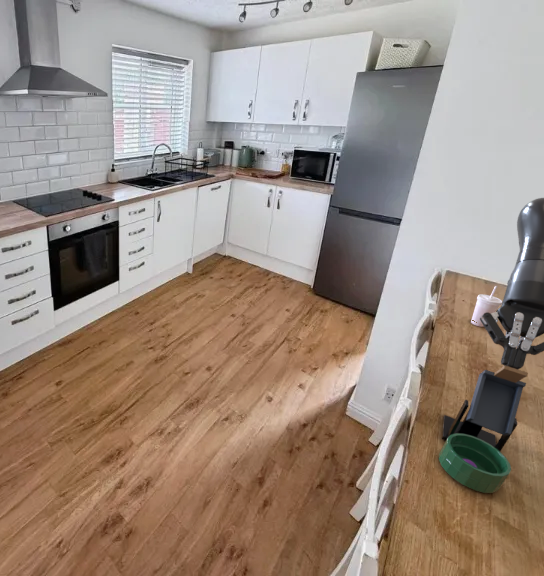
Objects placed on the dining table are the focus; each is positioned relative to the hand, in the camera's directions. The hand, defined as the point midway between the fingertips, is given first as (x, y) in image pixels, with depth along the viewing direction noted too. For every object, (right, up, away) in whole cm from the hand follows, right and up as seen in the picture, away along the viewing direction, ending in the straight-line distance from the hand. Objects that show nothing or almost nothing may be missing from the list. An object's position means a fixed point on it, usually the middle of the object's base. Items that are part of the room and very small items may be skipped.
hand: (510, 368), depth 68 cm
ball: (-8, -19, 0) cm, 20 cm away
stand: (0, -17, +9) cm, 19 cm away
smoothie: (+42, +3, +56) cm, 70 cm away
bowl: (-6, -20, +2) cm, 21 cm away
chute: (-1, -7, +3) cm, 8 cm away
